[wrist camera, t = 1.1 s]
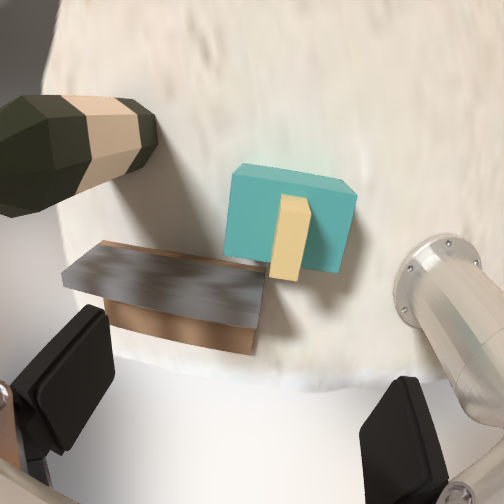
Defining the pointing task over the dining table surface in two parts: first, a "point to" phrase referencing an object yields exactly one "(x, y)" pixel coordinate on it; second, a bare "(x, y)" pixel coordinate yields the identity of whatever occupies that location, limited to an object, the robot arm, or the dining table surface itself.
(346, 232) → the teal block
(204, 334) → the wall board
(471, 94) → the dining table surface
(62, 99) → the wine bottle
